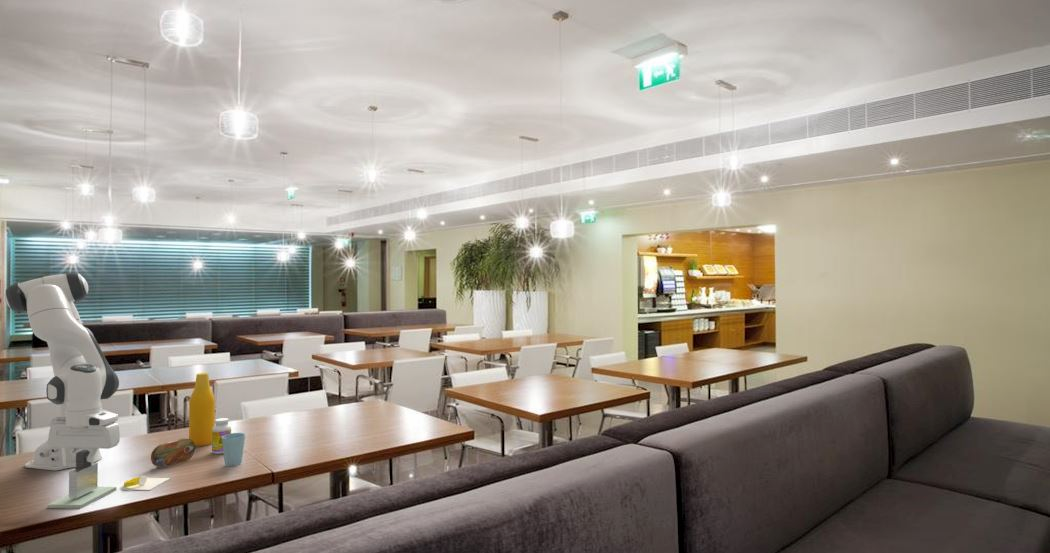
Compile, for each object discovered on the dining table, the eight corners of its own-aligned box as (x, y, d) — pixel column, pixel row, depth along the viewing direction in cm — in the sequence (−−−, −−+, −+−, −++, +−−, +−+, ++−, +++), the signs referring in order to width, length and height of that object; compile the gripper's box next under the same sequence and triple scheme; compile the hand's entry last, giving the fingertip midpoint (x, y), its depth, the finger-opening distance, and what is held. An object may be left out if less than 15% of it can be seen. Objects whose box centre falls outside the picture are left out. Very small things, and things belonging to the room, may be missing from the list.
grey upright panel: (68, 498, 166) (69, 455, 166) (90, 487, 174) (90, 447, 174) (76, 498, 166) (76, 455, 166) (97, 488, 174) (97, 447, 174)
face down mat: (122, 490, 177) (122, 489, 177) (144, 478, 187) (144, 477, 187) (149, 490, 177) (149, 489, 177) (170, 479, 187) (170, 478, 187)
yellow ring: (121, 489, 179) (134, 488, 178) (119, 481, 179) (132, 480, 178) (138, 482, 185) (151, 481, 183) (137, 474, 185) (150, 473, 183)
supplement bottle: (217, 455, 212) (217, 422, 211) (208, 452, 215) (208, 419, 215) (234, 451, 217) (234, 418, 217) (225, 448, 221) (225, 416, 221)
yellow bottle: (208, 438, 233) (208, 370, 233) (218, 442, 227) (219, 373, 227) (184, 443, 225) (185, 373, 225) (194, 448, 220) (195, 376, 220)
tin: (154, 470, 195) (154, 447, 195) (149, 469, 196) (149, 446, 196) (195, 458, 208) (195, 436, 208) (190, 457, 210) (190, 435, 210)
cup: (216, 466, 200) (217, 438, 200) (230, 459, 207) (231, 432, 207) (235, 467, 199) (236, 439, 199) (249, 460, 206) (249, 433, 206)
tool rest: (47, 507, 163) (47, 504, 163) (85, 489, 177) (85, 486, 177) (80, 508, 163) (80, 505, 163) (116, 490, 177) (116, 486, 177)
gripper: (42, 419, 167) (41, 464, 167) (108, 420, 167) (107, 465, 167) (59, 414, 174) (59, 457, 174) (123, 415, 173) (123, 458, 173)
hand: (83, 461), depth 170 cm, fingers closed on grey upright panel, 2 cm apart
